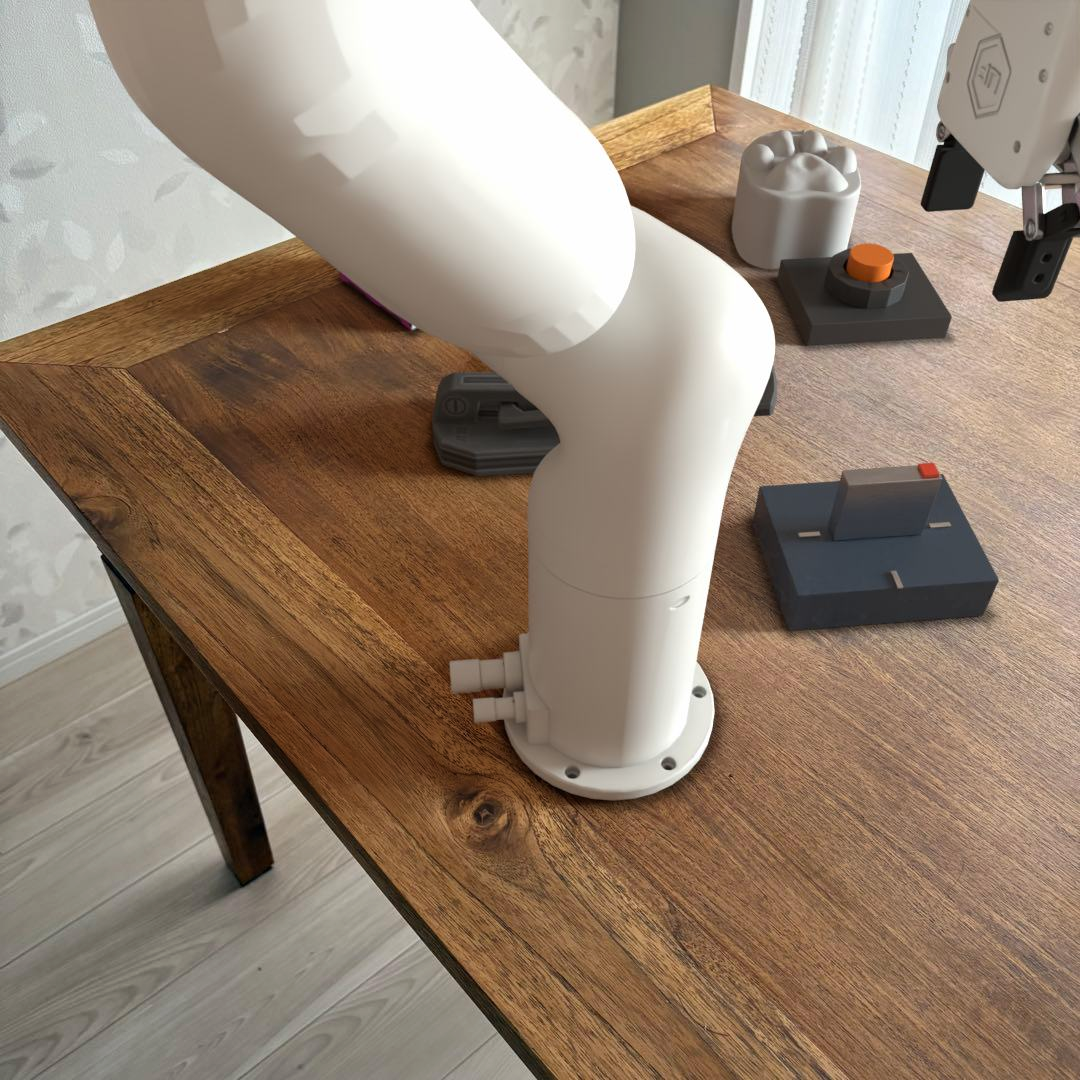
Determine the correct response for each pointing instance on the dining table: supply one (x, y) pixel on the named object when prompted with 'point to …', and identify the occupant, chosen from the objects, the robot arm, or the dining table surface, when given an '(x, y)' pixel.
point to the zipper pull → (504, 424)
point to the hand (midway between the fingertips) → (980, 250)
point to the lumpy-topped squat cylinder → (794, 198)
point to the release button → (869, 263)
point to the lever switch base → (868, 563)
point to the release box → (861, 302)
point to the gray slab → (884, 501)
